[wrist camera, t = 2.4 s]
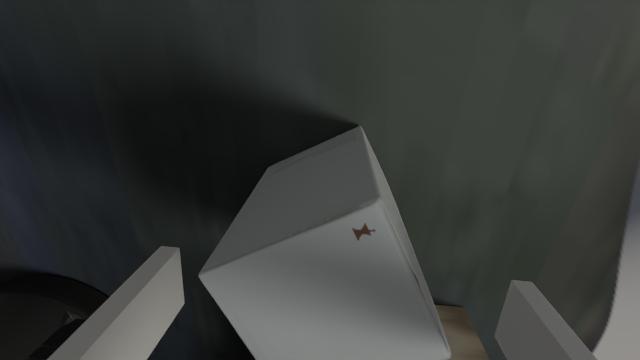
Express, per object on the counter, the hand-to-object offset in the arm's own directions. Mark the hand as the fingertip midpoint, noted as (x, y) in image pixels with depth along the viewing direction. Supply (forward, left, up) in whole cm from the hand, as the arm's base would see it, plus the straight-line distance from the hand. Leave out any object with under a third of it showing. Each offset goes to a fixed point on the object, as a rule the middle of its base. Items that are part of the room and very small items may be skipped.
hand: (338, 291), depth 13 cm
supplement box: (0, 0, -11) cm, 11 cm away
